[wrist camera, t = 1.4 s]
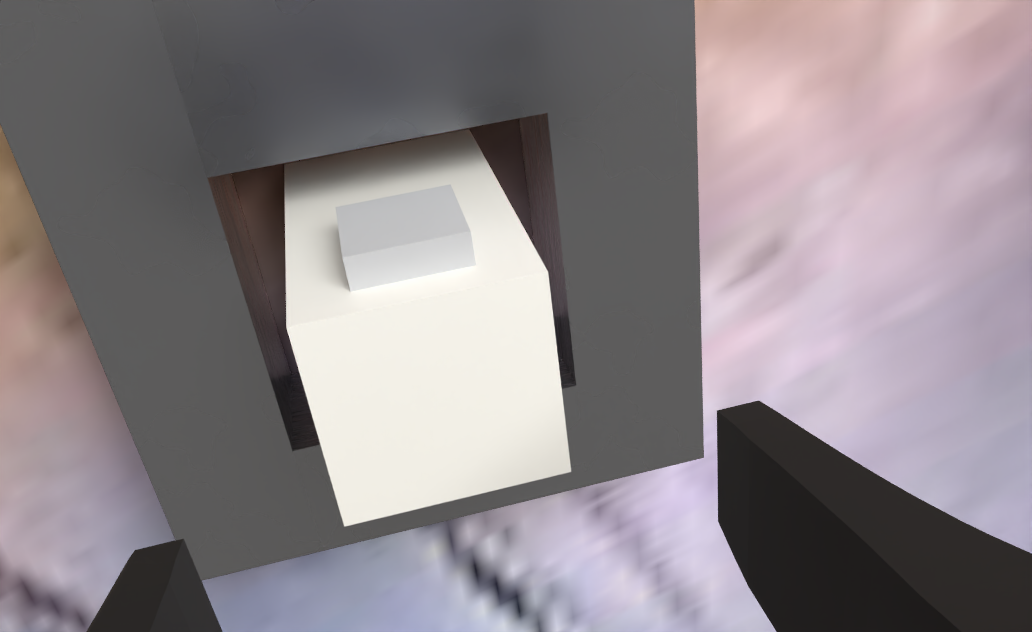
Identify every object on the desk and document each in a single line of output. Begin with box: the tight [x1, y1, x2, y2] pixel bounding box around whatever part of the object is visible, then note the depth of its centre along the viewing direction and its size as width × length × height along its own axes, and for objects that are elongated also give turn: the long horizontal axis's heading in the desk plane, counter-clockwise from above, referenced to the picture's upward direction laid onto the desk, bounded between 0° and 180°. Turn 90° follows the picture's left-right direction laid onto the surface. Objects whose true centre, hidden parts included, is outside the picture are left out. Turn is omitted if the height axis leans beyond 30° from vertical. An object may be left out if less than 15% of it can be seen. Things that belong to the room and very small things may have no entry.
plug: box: [284, 129, 571, 527], centre depth 18 cm, size 5×4×7 cm
